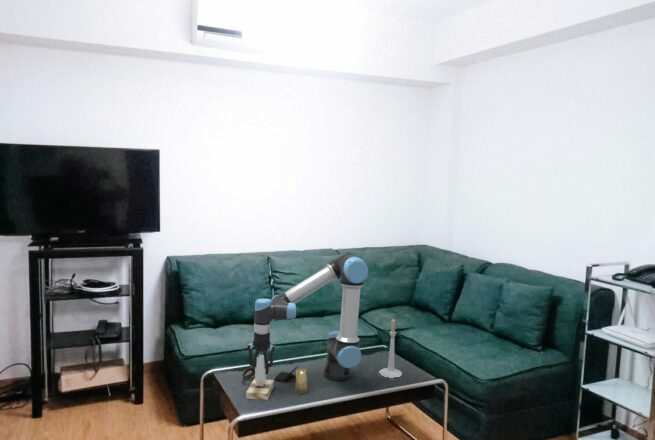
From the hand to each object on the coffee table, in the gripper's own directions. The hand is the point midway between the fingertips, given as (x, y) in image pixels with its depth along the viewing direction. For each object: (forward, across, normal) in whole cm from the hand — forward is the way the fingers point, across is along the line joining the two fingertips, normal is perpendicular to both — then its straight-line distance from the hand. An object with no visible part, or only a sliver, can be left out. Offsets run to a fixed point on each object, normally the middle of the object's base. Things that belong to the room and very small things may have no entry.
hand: (260, 380), depth 238 cm
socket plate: (+6, 0, 0) cm, 6 cm away
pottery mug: (+6, +6, -13) cm, 15 cm away
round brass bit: (+6, -19, -4) cm, 20 cm away
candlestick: (+6, -63, -33) cm, 71 cm away
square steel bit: (+2, 0, 0) cm, 2 cm away
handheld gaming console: (+6, -9, -19) cm, 22 cm away
